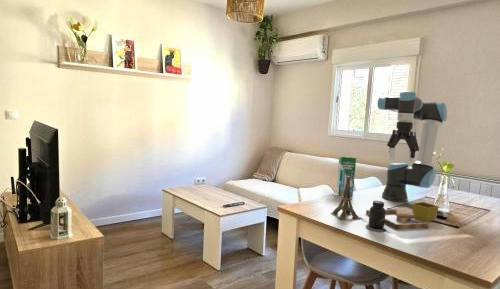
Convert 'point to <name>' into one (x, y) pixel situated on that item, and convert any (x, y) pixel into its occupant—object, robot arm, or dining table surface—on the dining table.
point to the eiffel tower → (346, 203)
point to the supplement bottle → (377, 215)
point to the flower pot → (424, 211)
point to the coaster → (375, 229)
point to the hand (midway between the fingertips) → (400, 162)
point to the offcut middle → (402, 219)
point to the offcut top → (405, 215)
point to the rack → (402, 226)
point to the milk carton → (345, 174)
